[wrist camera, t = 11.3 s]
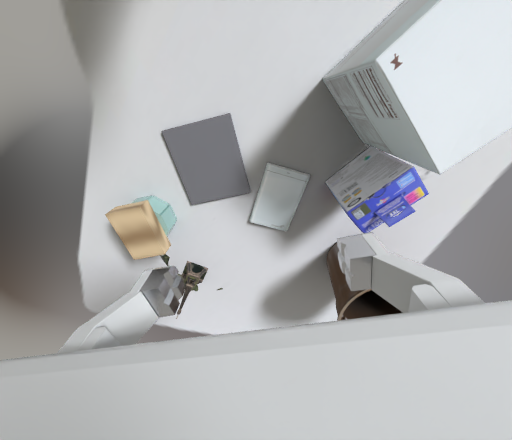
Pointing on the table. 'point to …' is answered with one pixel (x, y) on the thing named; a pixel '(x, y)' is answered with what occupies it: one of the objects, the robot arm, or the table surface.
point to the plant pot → (354, 295)
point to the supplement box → (430, 81)
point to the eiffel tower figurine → (189, 277)
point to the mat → (208, 159)
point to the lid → (139, 229)
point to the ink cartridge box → (376, 189)
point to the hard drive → (278, 196)
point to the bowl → (161, 212)
